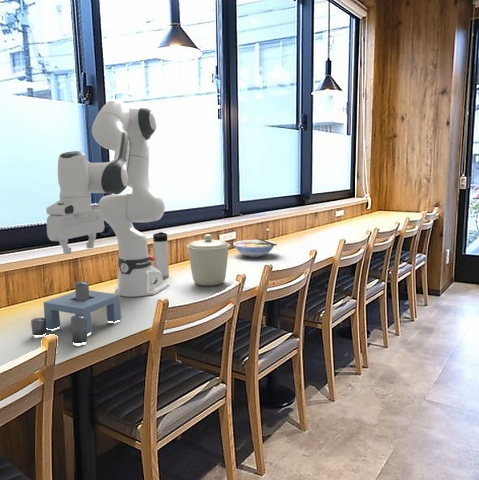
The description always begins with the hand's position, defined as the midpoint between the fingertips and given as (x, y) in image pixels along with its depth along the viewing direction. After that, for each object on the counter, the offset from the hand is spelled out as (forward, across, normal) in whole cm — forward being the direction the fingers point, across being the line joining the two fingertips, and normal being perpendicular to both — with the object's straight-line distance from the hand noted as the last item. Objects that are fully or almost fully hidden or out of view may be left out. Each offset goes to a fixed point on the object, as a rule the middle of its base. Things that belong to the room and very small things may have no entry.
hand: (79, 250), depth 143 cm
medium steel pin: (+24, +12, +10) cm, 29 cm away
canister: (+25, -62, +10) cm, 67 cm away
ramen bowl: (+26, -122, +4) cm, 124 cm away
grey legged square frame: (+24, 0, 0) cm, 24 cm away
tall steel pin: (+24, 0, 0) cm, 24 cm away
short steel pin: (+24, +12, -6) cm, 28 cm away
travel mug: (+25, -63, -15) cm, 69 cm away
